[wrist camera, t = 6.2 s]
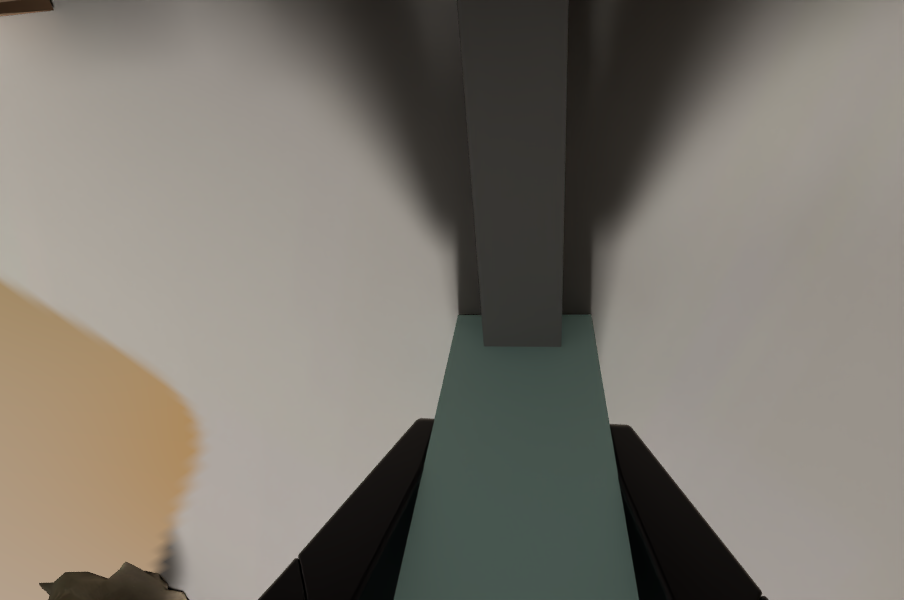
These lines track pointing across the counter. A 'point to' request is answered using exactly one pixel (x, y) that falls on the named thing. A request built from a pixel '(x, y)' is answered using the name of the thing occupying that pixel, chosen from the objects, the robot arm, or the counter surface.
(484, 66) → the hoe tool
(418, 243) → the counter surface
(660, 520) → the robot arm
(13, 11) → the walnut shelf
